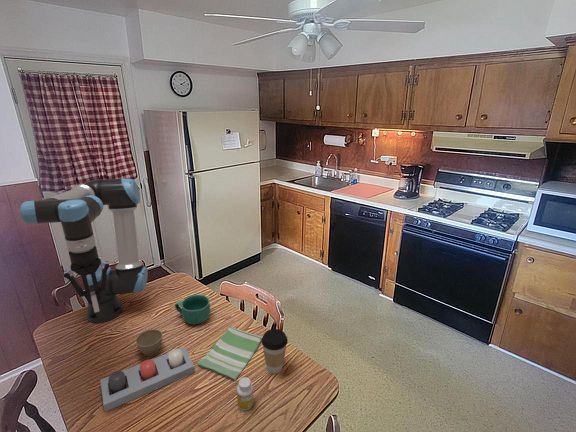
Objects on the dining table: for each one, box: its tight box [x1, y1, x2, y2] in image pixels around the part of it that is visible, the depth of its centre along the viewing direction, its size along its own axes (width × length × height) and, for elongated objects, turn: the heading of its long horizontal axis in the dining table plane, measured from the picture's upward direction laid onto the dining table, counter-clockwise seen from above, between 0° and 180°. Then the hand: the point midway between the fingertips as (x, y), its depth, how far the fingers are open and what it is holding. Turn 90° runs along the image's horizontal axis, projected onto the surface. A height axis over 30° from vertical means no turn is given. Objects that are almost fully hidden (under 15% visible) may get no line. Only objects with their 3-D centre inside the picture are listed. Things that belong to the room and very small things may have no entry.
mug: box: [174, 294, 211, 325], centre depth 147 cm, size 17×13×10 cm
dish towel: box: [196, 326, 263, 382], centre depth 128 cm, size 18×23×3 cm
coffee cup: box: [261, 328, 288, 375], centre depth 119 cm, size 10×10×15 cm
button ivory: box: [168, 348, 185, 370], centre depth 120 cm, size 5×5×6 cm
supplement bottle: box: [236, 377, 254, 411], centre depth 105 cm, size 5×5×10 cm
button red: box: [139, 359, 158, 382], centre depth 115 cm, size 5×5×6 cm
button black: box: [108, 370, 128, 395], centre depth 109 cm, size 5×5×6 cm
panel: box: [100, 346, 196, 412], centre depth 115 cm, size 12×30×3 cm, turn 124°
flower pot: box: [135, 328, 163, 357], centre depth 127 cm, size 10×10×7 cm
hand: (96, 309), depth 108 cm, fingers closed
